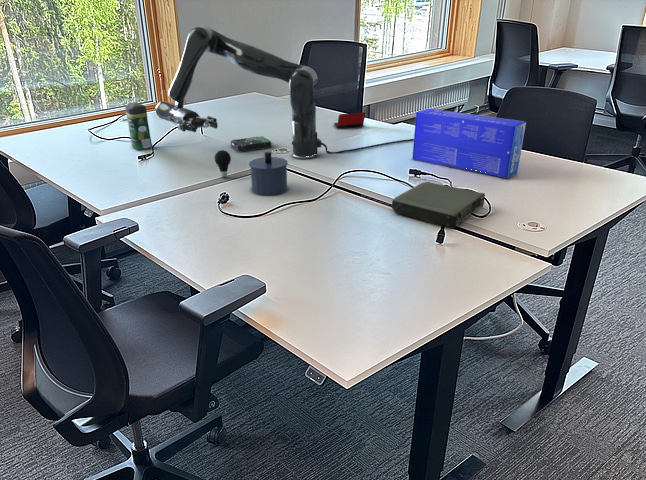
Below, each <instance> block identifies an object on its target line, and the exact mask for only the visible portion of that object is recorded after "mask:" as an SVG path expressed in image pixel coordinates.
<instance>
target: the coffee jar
mask: <svg viewBox="0 0 646 480" xmlns="http://www.w3.org/2000/svg"><path fill="white" fill-rule="evenodd" d="M125 115H126V120H127V126H128V131H129V132H128V133H129V139H130V144H131V147H132V148H133V149H134V150H138V151H139V150H143V151H144V150H149V149H150V148H153V144H152V139H151V137H152V136H151V131H150V125H149V120H148V110H147V107H146V105H144V104H142V103H139V102H138V101H135V102H128V103H127V104H126V105H125Z"/></svg>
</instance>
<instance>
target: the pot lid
mask: <svg viewBox="0 0 646 480" xmlns="http://www.w3.org/2000/svg"><path fill="white" fill-rule="evenodd" d="M288 163H289V162H288V160H287V159H286V158H282V157H278V156H272V152H271V151H264V157H263V156H262V157H258V158H255V159H251V160H250V161H249V163H248V166H249V167H250V169H251V168H254V169H258V170H275V169H280V168H283V167H285V166H286V165H287V166H288V165H289V164H288Z"/></svg>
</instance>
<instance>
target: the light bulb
mask: <svg viewBox="0 0 646 480" xmlns="http://www.w3.org/2000/svg"><path fill="white" fill-rule="evenodd" d="M231 161H232V157H231V154H230V153H229V151H227V150H224V149H223V150H219V151H217V152H216V153H215V155H214V162H215V164H216V165H217V167H218V169H219V172H220V176H221V177H222V178H223V179H224V178H225V179H226V177H228V175H229V173H228V171H229V165H230V164H231Z"/></svg>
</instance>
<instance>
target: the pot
mask: <svg viewBox="0 0 646 480" xmlns="http://www.w3.org/2000/svg"><path fill="white" fill-rule="evenodd" d="M287 166H288V164H287V165H286V166H285V167H283V168H280V169H275V170H258V169H254V168H251V167H250V182H251V190H252V193H254V194H255V195H258V196H265V197H269V196H279V195H282V194H284V193H285V192H287V190H288V170H287Z"/></svg>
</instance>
